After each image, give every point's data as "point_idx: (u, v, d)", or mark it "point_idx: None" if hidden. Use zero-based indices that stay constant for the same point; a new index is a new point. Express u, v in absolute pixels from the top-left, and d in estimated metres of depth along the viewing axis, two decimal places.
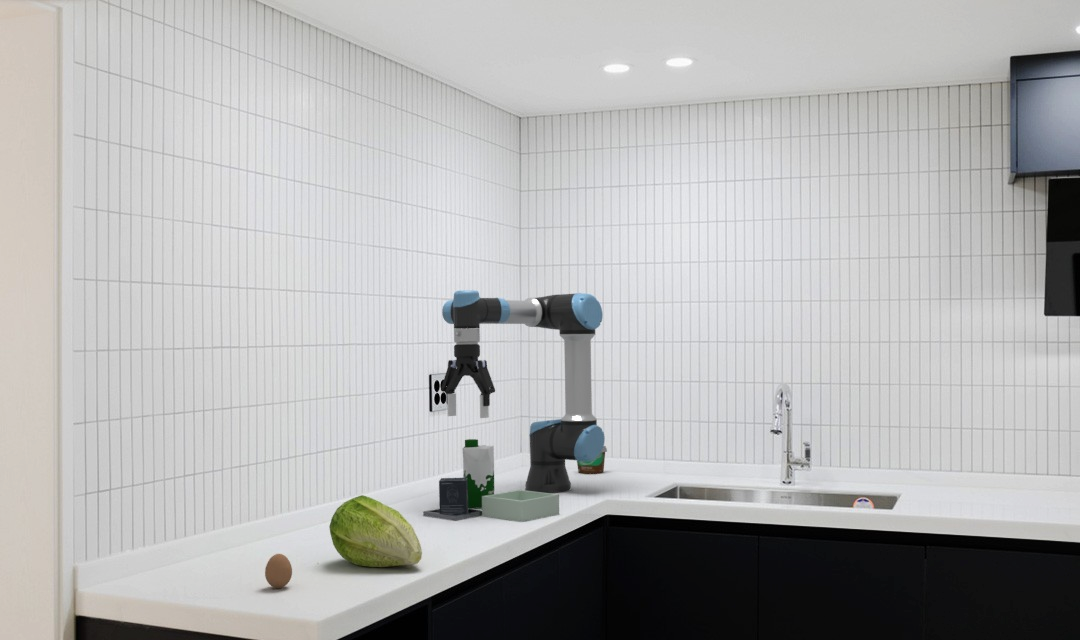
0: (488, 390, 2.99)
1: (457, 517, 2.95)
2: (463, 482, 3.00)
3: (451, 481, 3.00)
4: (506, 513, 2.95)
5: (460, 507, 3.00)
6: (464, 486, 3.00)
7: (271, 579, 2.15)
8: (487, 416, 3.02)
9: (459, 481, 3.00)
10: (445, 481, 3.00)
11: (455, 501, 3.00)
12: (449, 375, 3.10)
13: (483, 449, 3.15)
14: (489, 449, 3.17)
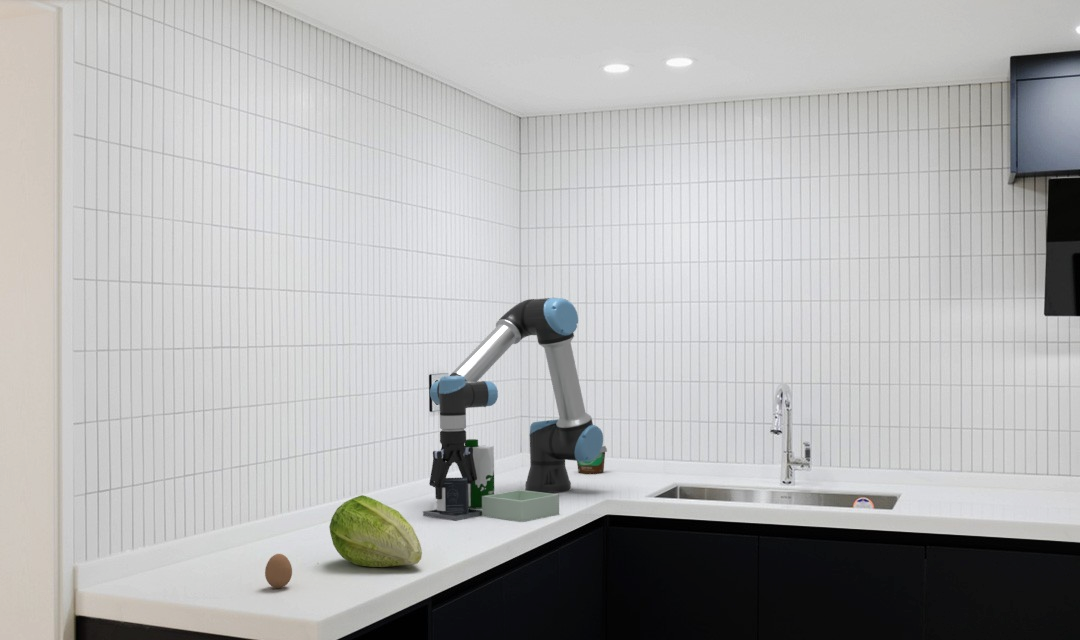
0: None
1: (457, 517, 2.95)
2: (463, 482, 3.00)
3: (451, 481, 3.00)
4: (506, 513, 2.95)
5: (460, 506, 3.00)
6: (464, 486, 3.00)
7: (271, 579, 2.15)
8: (442, 509, 2.98)
9: (459, 481, 3.00)
10: (445, 481, 3.00)
11: (455, 501, 3.00)
12: (466, 462, 3.08)
13: (483, 449, 3.15)
14: (489, 449, 3.17)
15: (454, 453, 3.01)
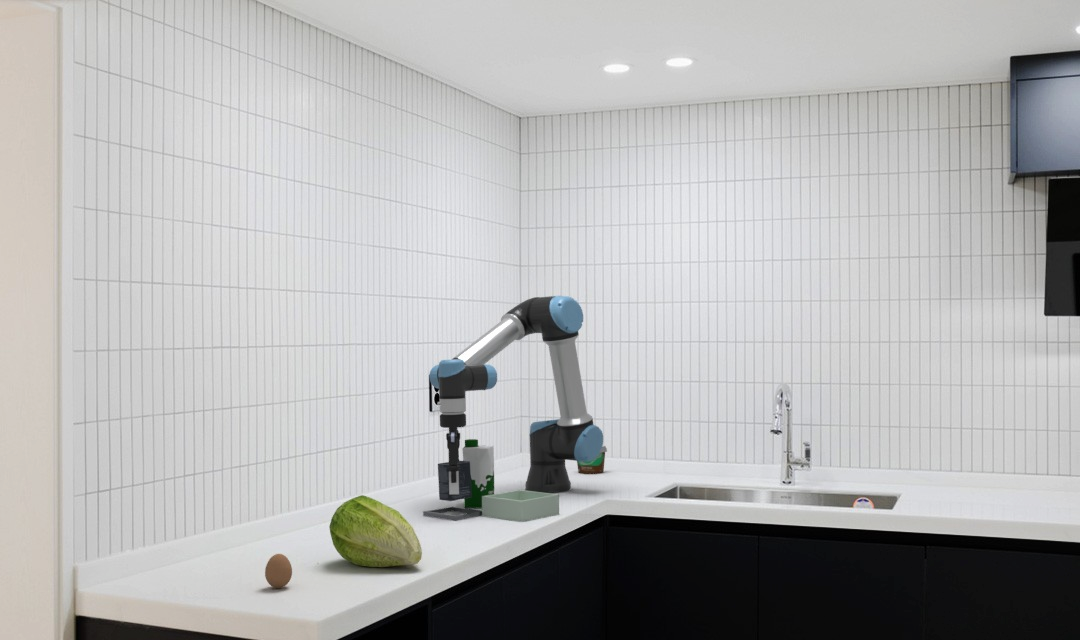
0: (448, 467, 2.95)
1: (457, 517, 2.95)
2: (468, 464, 3.04)
3: (458, 464, 3.01)
4: (506, 513, 2.95)
5: (467, 488, 3.03)
6: (469, 468, 3.04)
7: (271, 579, 2.15)
8: (457, 493, 2.98)
9: (465, 463, 3.03)
10: None
11: (462, 484, 3.02)
12: None
13: (483, 449, 3.15)
14: (489, 449, 3.17)
15: None
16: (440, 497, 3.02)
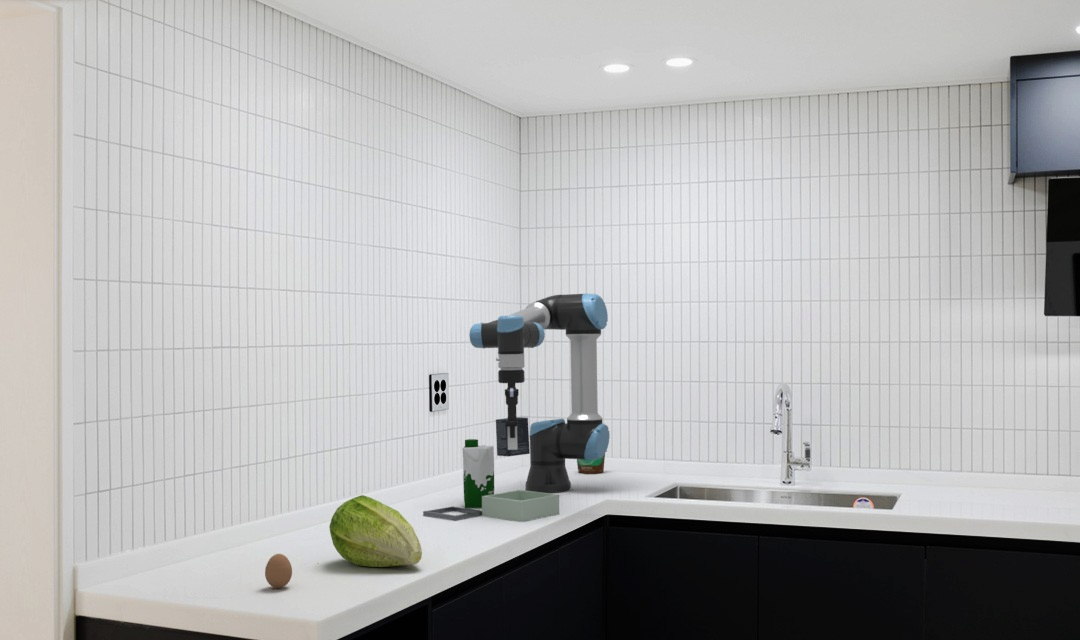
0: (508, 422, 2.94)
1: (457, 517, 2.95)
2: (526, 420, 3.03)
3: (517, 419, 3.00)
4: (506, 513, 2.95)
5: (525, 444, 3.02)
6: (527, 424, 3.03)
7: (271, 579, 2.15)
8: (515, 448, 2.97)
9: (523, 419, 3.02)
10: None
11: (520, 440, 3.01)
12: None
13: (483, 449, 3.15)
14: (489, 449, 3.17)
15: (518, 392, 3.01)
16: (498, 453, 3.01)
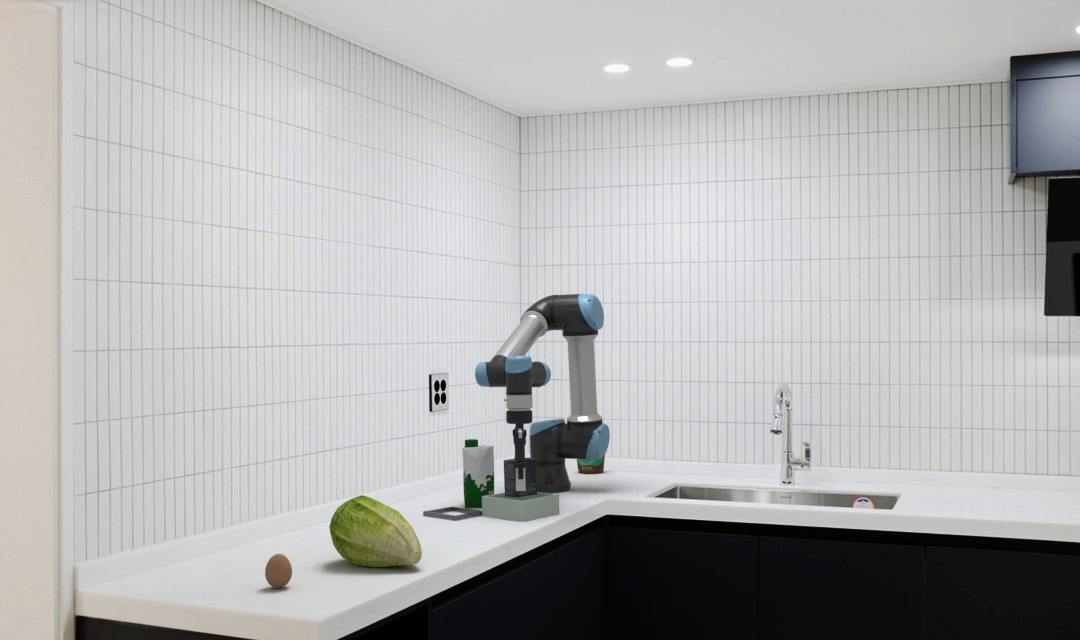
0: (516, 464, 2.94)
1: (457, 517, 2.95)
2: (534, 460, 3.02)
3: (525, 460, 3.00)
4: (506, 513, 2.95)
5: (532, 485, 3.01)
6: (534, 464, 3.02)
7: (271, 579, 2.15)
8: (523, 489, 2.97)
9: (531, 460, 3.01)
10: None
11: (528, 481, 3.00)
12: None
13: (483, 449, 3.15)
14: (489, 449, 3.17)
15: (526, 432, 3.01)
16: (506, 494, 3.00)
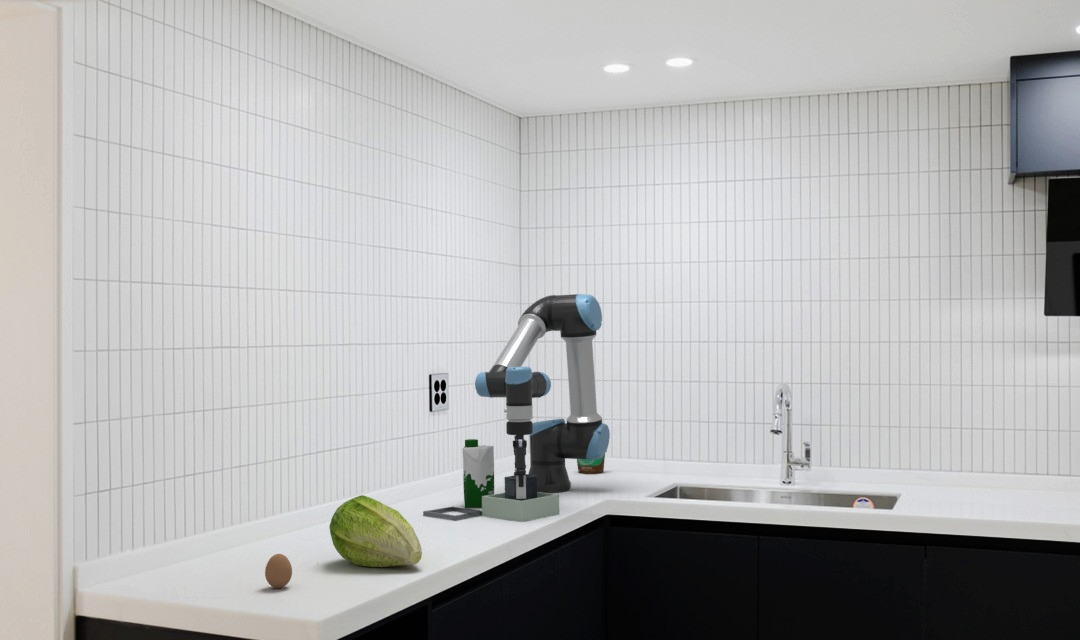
0: (516, 471, 2.92)
1: (457, 517, 2.95)
2: (535, 478, 3.02)
3: None
4: (506, 513, 2.95)
5: None
6: (535, 482, 3.02)
7: (271, 579, 2.15)
8: (524, 497, 2.95)
9: (532, 477, 3.01)
10: None
11: (529, 498, 3.00)
12: None
13: (483, 449, 3.15)
14: (489, 449, 3.17)
15: (526, 443, 3.01)
16: None
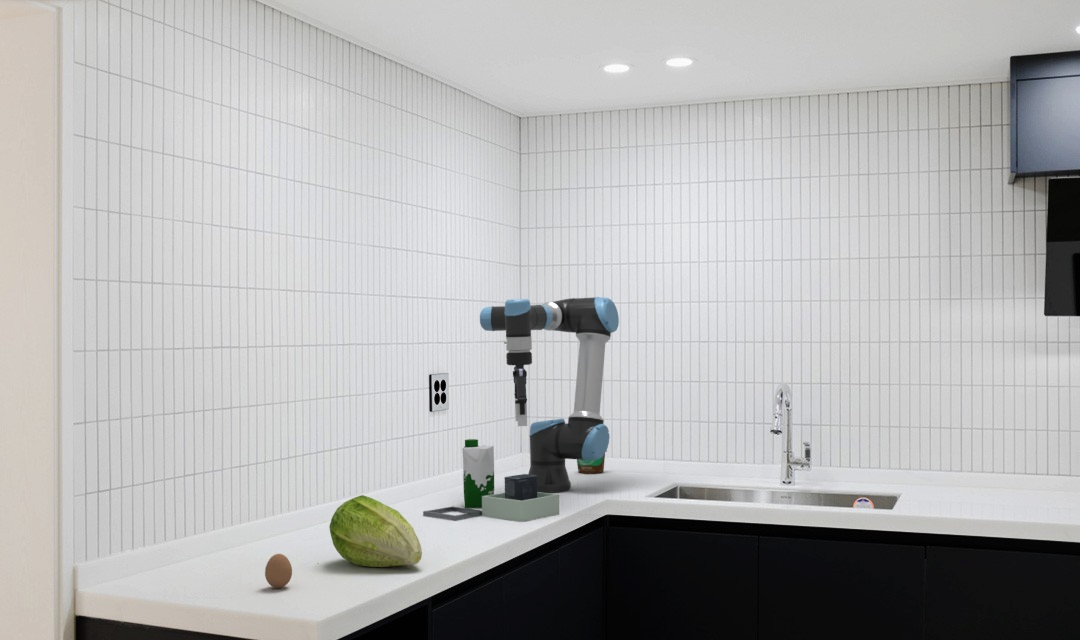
0: (518, 399, 3.01)
1: (457, 517, 2.95)
2: (535, 478, 3.02)
3: (525, 478, 3.00)
4: (506, 513, 2.95)
5: None
6: (535, 482, 3.02)
7: (271, 579, 2.15)
8: (525, 424, 3.04)
9: (532, 477, 3.01)
10: (521, 478, 2.99)
11: (529, 498, 3.00)
12: None
13: (483, 449, 3.15)
14: (489, 449, 3.17)
15: (526, 373, 3.10)
16: None
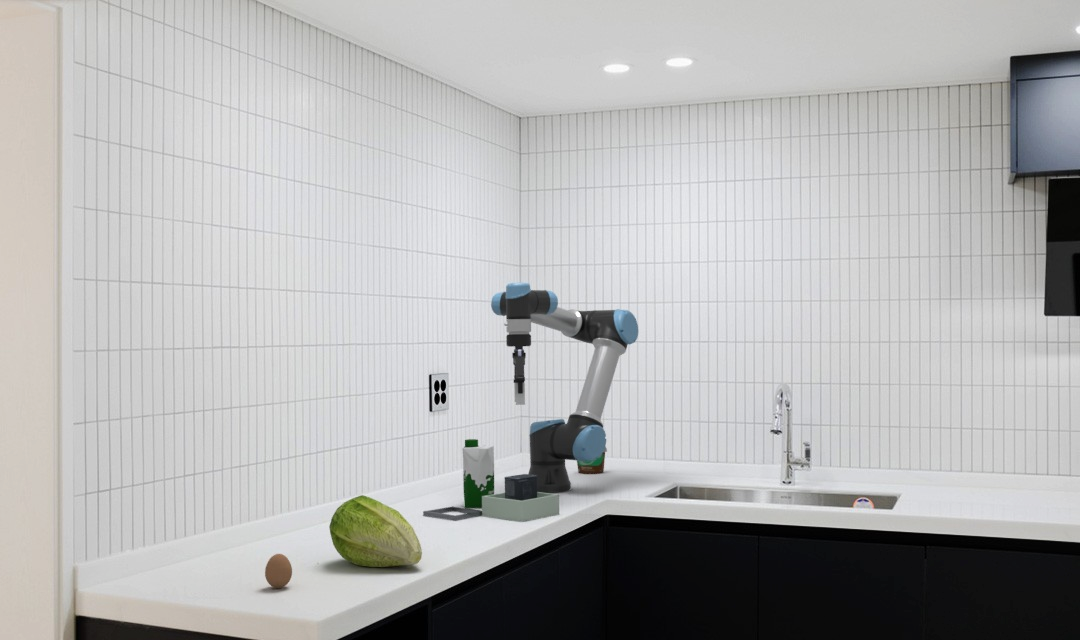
0: (516, 378, 3.12)
1: (457, 517, 2.95)
2: (535, 478, 3.02)
3: (525, 478, 3.00)
4: (506, 513, 2.95)
5: None
6: (535, 482, 3.02)
7: (271, 579, 2.15)
8: (523, 403, 3.14)
9: (532, 477, 3.01)
10: (521, 478, 2.99)
11: (529, 498, 3.00)
12: None
13: (483, 449, 3.15)
14: (489, 449, 3.17)
15: (525, 354, 3.20)
16: None
